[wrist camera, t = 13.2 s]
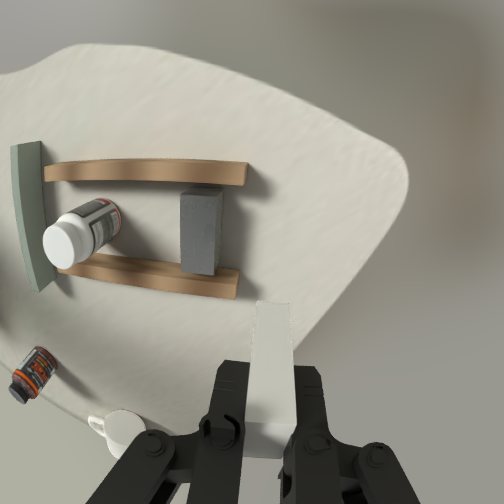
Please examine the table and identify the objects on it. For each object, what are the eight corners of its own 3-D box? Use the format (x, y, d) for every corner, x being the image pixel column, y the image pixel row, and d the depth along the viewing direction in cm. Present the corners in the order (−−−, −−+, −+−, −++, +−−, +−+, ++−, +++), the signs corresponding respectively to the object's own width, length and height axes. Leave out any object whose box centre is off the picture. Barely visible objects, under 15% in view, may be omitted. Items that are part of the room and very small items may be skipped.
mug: (151, 418, 42) (139, 452, 34) (149, 438, 46) (139, 468, 38) (93, 394, 41) (77, 424, 34) (98, 417, 45) (85, 444, 37)
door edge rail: (49, 276, 30) (32, 290, 27) (33, 142, 23) (10, 146, 20) (56, 277, 30) (39, 292, 27) (40, 140, 23) (17, 144, 20)
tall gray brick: (190, 255, 28) (181, 271, 25) (191, 186, 25) (180, 194, 22) (220, 259, 28) (213, 275, 25) (223, 189, 25) (216, 197, 22)
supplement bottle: (62, 365, 38) (33, 407, 28) (52, 371, 40) (25, 410, 30) (39, 341, 37) (7, 381, 26) (31, 349, 38) (2, 386, 28)
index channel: (71, 261, 29) (58, 272, 26) (61, 162, 24) (44, 166, 22) (238, 283, 29) (235, 299, 26) (247, 162, 24) (244, 165, 21)
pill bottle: (81, 217, 27) (33, 245, 19) (101, 188, 25) (50, 210, 18) (107, 247, 28) (64, 283, 20) (130, 220, 27) (85, 252, 19)
